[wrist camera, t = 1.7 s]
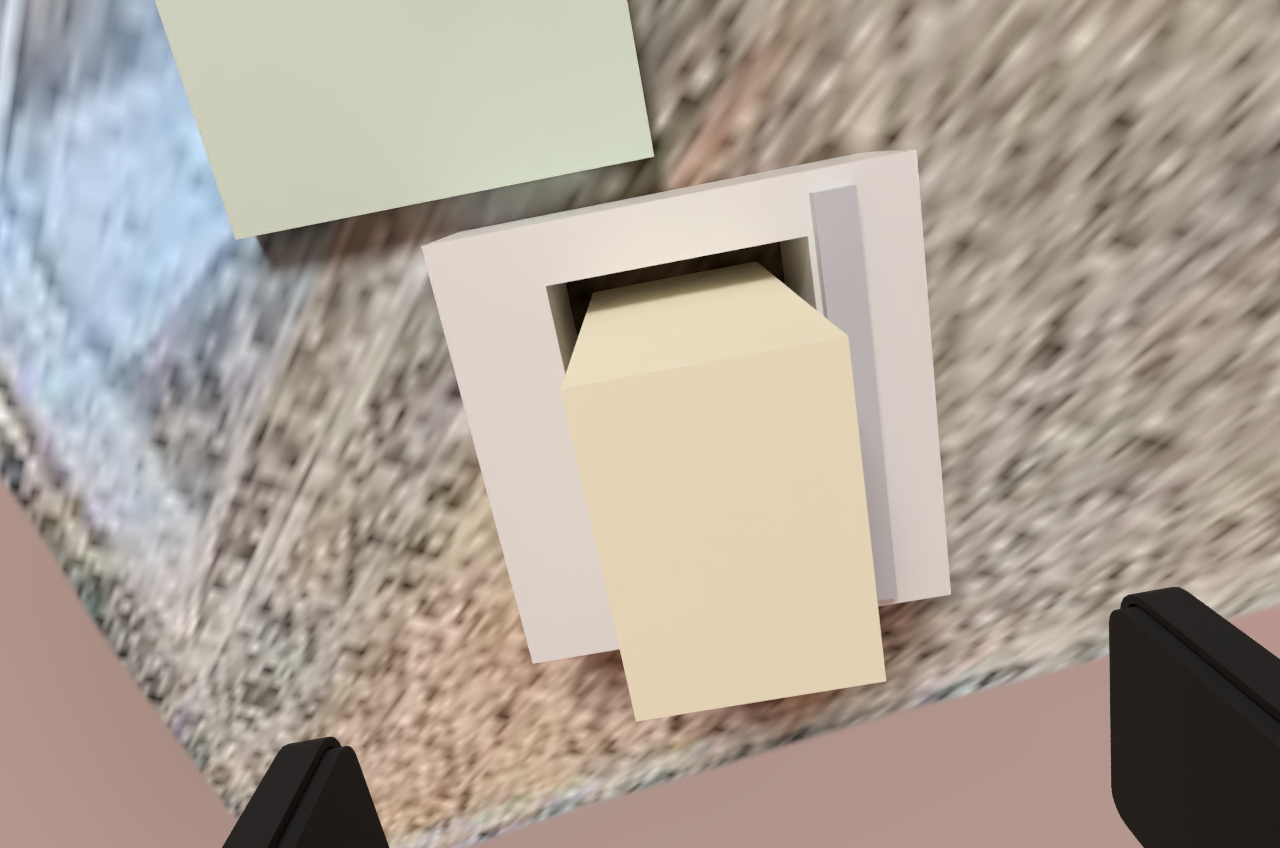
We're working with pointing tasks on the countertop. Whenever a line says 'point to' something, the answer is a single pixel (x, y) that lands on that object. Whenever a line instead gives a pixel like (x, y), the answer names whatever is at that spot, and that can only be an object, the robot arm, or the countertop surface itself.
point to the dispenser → (667, 232)
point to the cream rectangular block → (725, 491)
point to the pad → (401, 99)
